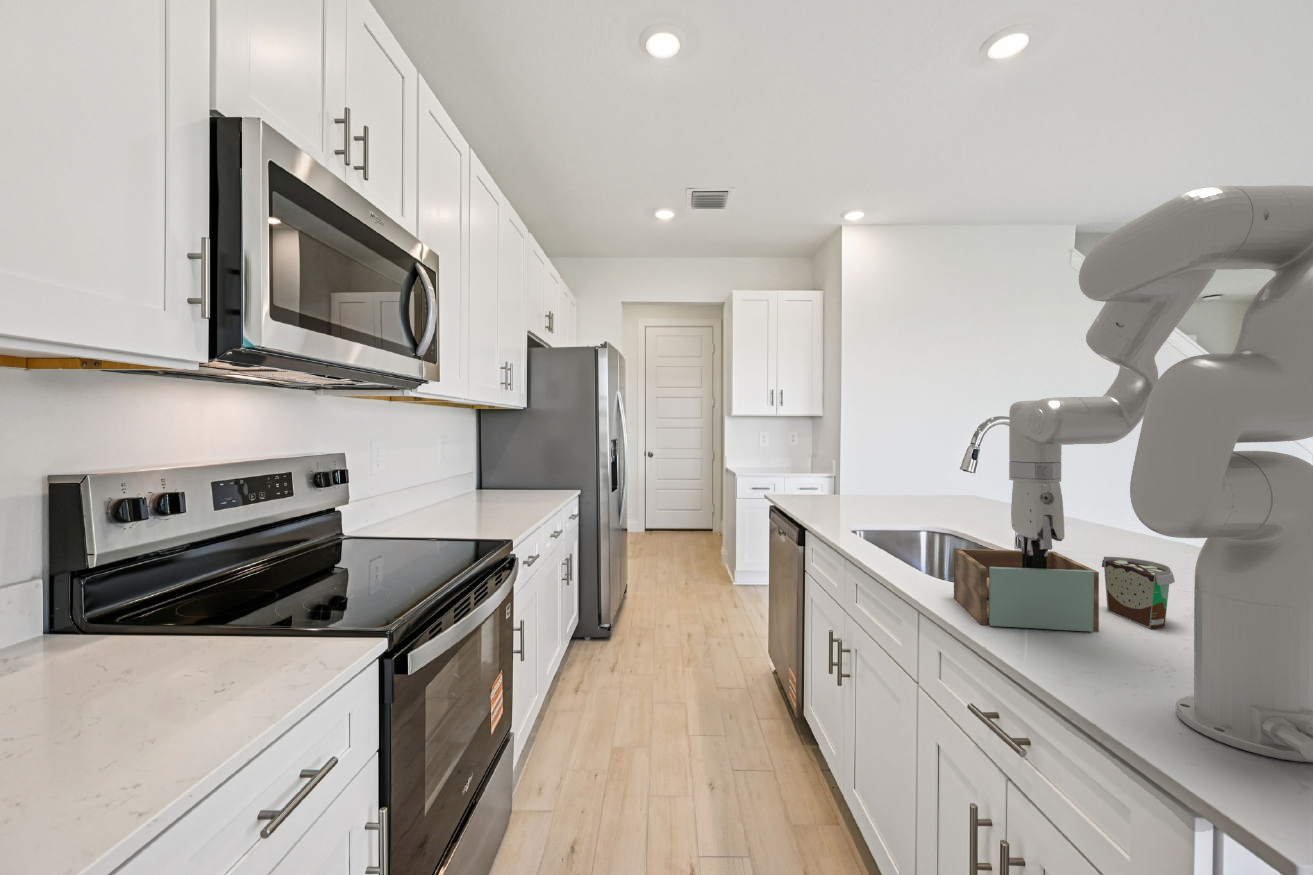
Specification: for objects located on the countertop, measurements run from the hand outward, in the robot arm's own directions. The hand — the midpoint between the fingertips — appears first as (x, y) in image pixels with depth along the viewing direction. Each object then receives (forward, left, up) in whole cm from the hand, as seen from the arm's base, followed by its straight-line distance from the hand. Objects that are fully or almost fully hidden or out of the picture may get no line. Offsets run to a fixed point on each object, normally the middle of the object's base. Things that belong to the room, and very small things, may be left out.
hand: (1034, 577), depth 99 cm
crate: (+5, 0, -8) cm, 10 cm away
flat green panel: (-3, 0, -8) cm, 8 cm away
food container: (+6, -20, -9) cm, 23 cm away
